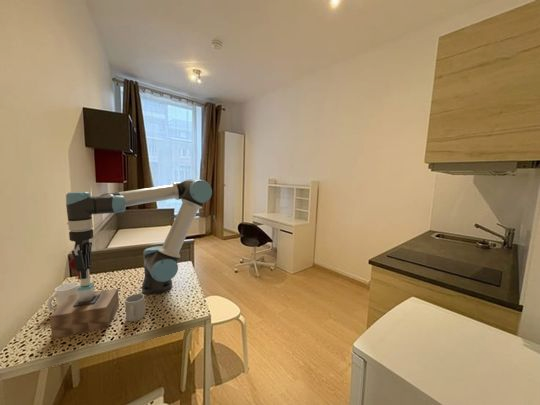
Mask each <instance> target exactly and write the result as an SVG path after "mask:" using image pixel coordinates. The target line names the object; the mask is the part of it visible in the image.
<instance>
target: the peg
mask: <svg viewBox="0 0 540 405" xmlns="http://www.w3.org/2000/svg"><path fill="white" fill-rule="evenodd" d="M95 292H96V291H95V282H94V281H93V282H90V285H87V286H81V285H79V288H78V293H79V303H86V302H92V301H93V300H94V299H95Z"/></svg>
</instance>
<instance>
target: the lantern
mask: <svg viewBox="0 0 540 405" xmlns="http://www.w3.org/2000/svg"><path fill="white" fill-rule="evenodd" d="M92 261H93V260H92V259H91V262H92ZM68 266H69V268H70V269H71V270H73V271H76V273H77V280H80V281H81V279H80V272H77V270H76V265H75V261H74V256H72V257H71V259H70V260H69V262H68Z"/></svg>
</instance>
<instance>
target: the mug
mask: <svg viewBox="0 0 540 405" xmlns="http://www.w3.org/2000/svg"><path fill="white" fill-rule="evenodd" d="M79 287H80V283H79V282H73V281H72V282H67V283H63V284H61V285H59V286H57V287H55V289H54V290H55V291H54V294H51V296H49V298H48V300H47V302H46V307H47V309H48V310H50V311H55V310H56V309H57V308H58V307H59V306H60V305H61V304H62V303H63V302H64V301H65V300H66V299H67V298H68V297H69V296H70V295H76V294H79V293H78V288H79ZM54 299H55V301H56V302H55V303H56V306H52V302H53V300H54Z"/></svg>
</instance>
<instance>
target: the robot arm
mask: <svg viewBox="0 0 540 405" xmlns="http://www.w3.org/2000/svg"><path fill="white" fill-rule="evenodd" d="M212 195H213V190H212V187H211V184H210V182H209V183H208V182H207V181H206V180H204V179H201V178H197V179H196V178H194V179H187V180H183V181H182V180H181V181H176V182H172V184H170V185H169V184H167V185H161V186H154V187H148V188H147V187H146V188H140V189H131V190H126V191H118V192H110V193H108V192H107V193H102V194H101V195H99V196H93V195H91V193H90V192H89V191H71V192H68V193H66V194H65V206H66V212H67V213H66V215H67V223H66V225H67V226H68V230H69V232H68V235H69V236H68V238H69V241H71V242H74V250H72V251H71V254H72V257H74V261H75V265H76V270H77V271H76V270H75V271H76V273H77V272H80V279H81V280H80V279H79V280H80V286H87V285H90V283H91V276H90V274H91V273H90V269H93V268H92V267H93V266H92V261H91V260H92V247H93V246H92V245H93V242H90V240H91V239H93V238H94V230H93V227H94V225H93V215H101V214H103V215H104V214H105V215H106V214H118V213H124V212H126V207H131V206H136V205H143V204H149V203H155V202H161V201H167V200H173V199H175V200H177V201H179V200H181V202H182V203H181V205H180V208H179V210H178V212H177V214H176V216H175V219H174V220H173V222H172V225H171V227H170V228H169V232H168V234H167V235H166V236H165V237H166V238H165V240H164V243H163V244H162V245H159V246H158V245H157V246H152V247H147V248H145V249H144V250H143V255H142V256H143V267H144V268H143V269H144V271H143V272H144V278H143V282H142V285H141V292H142V294H143V295H149V296H150V295H151V296H152V295H158V294H161V293H165V292H167V291H169V290H170V289H171V288H172V287H173V278H175V277H176V275H177V273H178V272H179V271H178V270H179V265H178V263H179V260H180V259H181V255H180V251H181V249H182V246H183V244H184V242H185V239H186V237H187V235H188V233H189V232H190V229H191V227H192V224H193V222H194V220H195V218H196V215H197V213H198V211H199V210H200V209H202V208H203V207H204V205H205V203H206V202H208V201H209V200H210V199H211V198H212Z"/></svg>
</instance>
